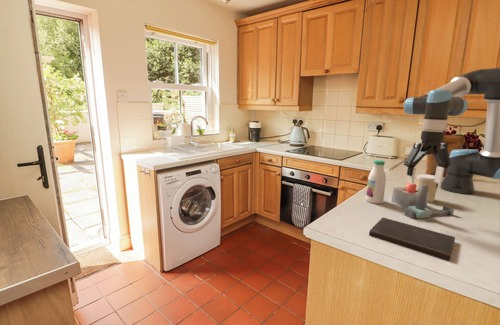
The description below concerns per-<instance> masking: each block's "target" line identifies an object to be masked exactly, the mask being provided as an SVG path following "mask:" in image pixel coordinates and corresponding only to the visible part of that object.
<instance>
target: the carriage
mask: <svg viewBox="0 0 500 325" xmlns="http://www.w3.org/2000/svg"><path fill="white" fill-rule="evenodd" d="M428 187H429V186H427V185H422V184H420V185H419V190H418V196H417V202H416V206H408V209H410V210H412V211H415V213H416V217H415V218H416V219H423V218H430V217H431V216H430V214H432V211H433V210H431V209H429V208H427V207H426V208H425V204H426V198H427V193H428Z"/></svg>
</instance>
